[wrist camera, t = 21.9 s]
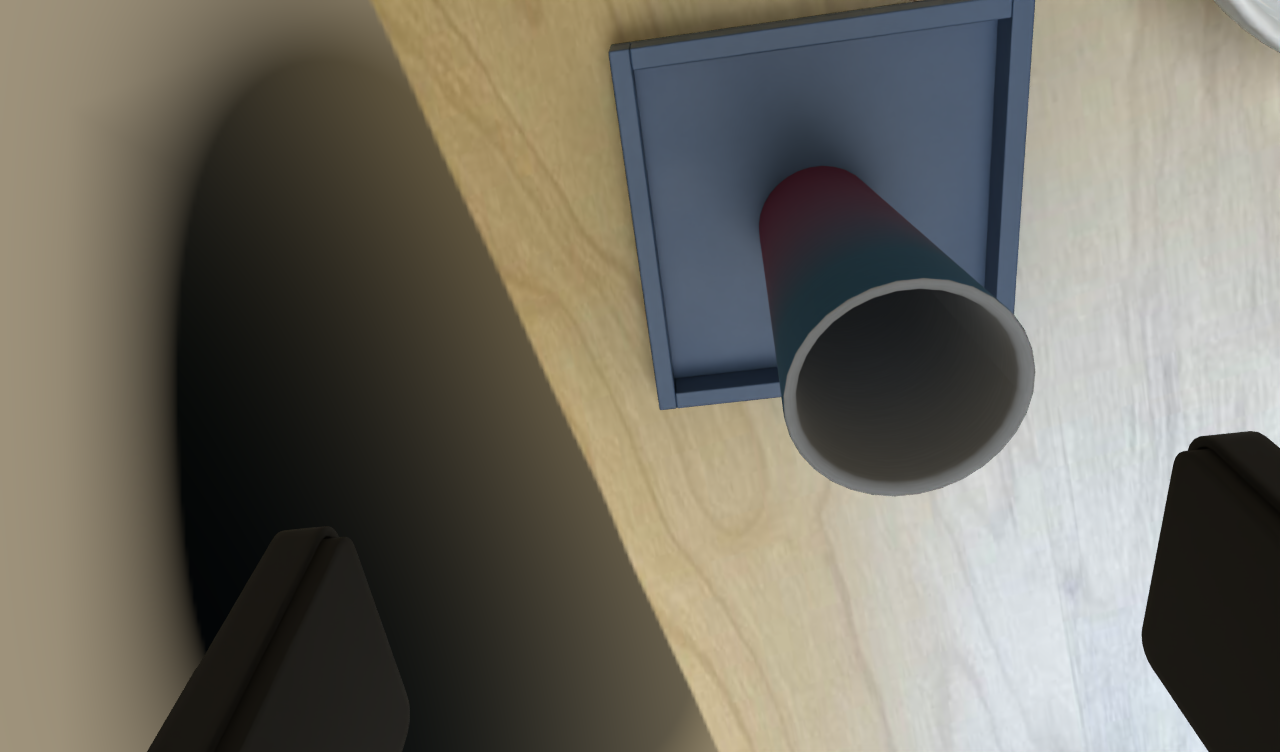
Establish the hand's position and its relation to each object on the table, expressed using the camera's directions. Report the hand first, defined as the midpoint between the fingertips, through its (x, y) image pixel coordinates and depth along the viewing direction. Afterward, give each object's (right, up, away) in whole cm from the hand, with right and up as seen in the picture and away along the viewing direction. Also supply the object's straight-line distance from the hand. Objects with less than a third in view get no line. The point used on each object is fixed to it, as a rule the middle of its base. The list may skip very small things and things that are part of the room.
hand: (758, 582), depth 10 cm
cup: (+6, +9, +27) cm, 29 cm away
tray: (+6, +10, +27) cm, 30 cm away
